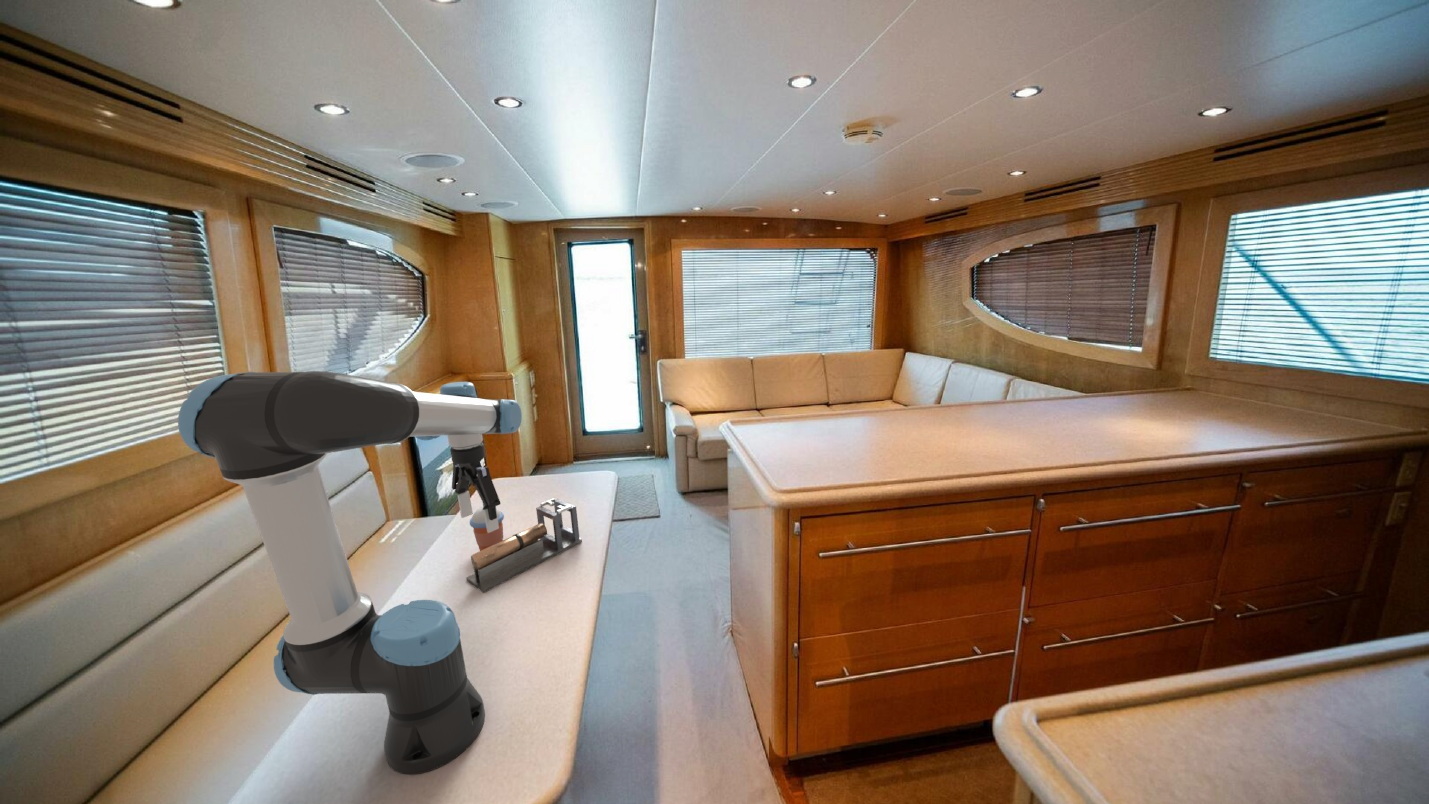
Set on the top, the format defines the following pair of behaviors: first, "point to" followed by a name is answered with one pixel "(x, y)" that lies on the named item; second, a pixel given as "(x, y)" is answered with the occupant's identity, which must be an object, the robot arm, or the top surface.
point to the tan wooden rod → (508, 546)
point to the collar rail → (531, 548)
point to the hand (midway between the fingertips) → (479, 522)
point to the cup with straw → (481, 532)
